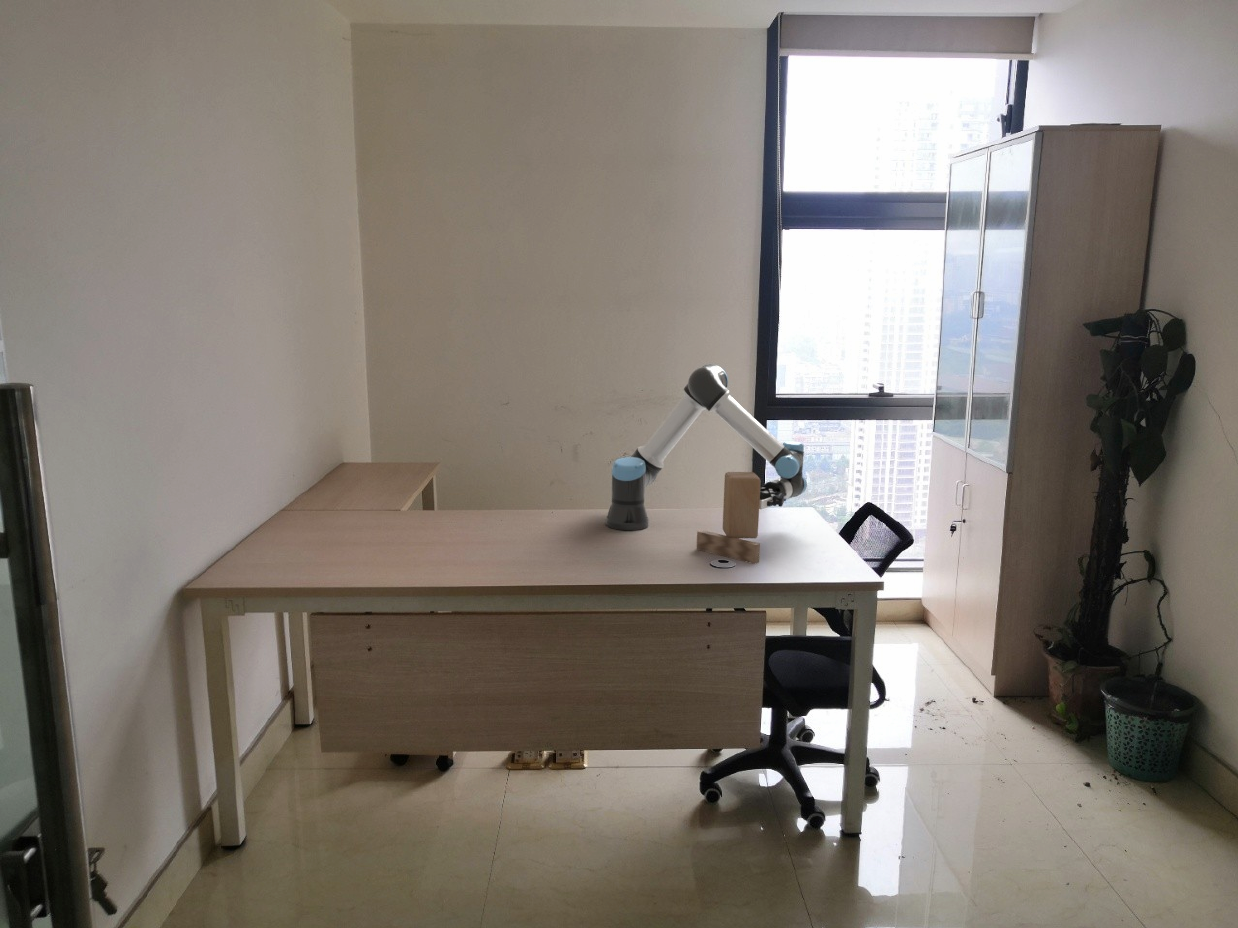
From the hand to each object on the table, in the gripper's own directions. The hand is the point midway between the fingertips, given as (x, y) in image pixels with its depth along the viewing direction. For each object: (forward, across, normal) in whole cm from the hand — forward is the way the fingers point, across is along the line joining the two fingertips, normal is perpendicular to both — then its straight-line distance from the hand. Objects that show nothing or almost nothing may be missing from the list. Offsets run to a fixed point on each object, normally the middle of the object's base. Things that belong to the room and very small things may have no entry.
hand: (742, 501), depth 289 cm
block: (+1, 0, -11) cm, 11 cm away
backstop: (+9, -1, -16) cm, 18 cm away
